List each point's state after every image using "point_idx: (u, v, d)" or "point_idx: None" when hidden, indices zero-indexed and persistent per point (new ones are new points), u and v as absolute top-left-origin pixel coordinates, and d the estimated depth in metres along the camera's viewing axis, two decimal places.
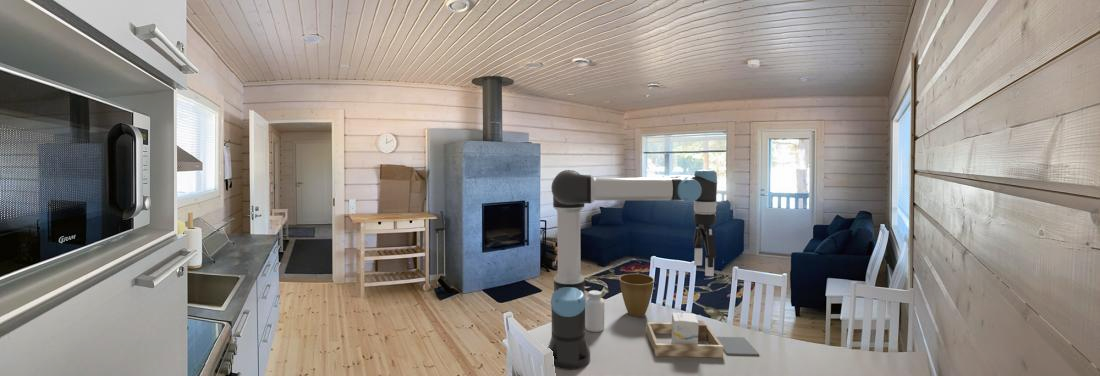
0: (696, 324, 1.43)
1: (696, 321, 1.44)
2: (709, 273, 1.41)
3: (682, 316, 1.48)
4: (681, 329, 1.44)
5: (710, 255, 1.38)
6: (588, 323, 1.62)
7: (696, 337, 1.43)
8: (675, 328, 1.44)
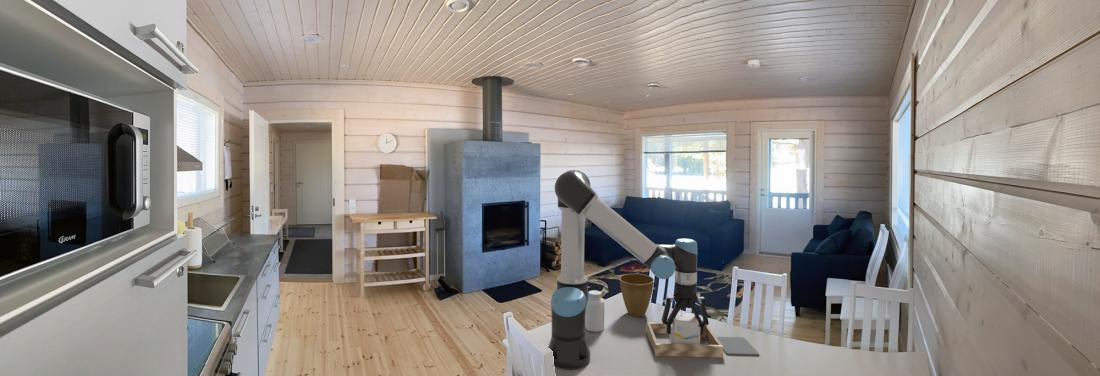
0: (696, 324, 1.43)
1: (696, 321, 1.44)
2: (670, 339, 1.48)
3: (682, 316, 1.48)
4: (681, 329, 1.44)
5: None
6: (588, 323, 1.62)
7: (696, 337, 1.43)
8: (675, 328, 1.44)
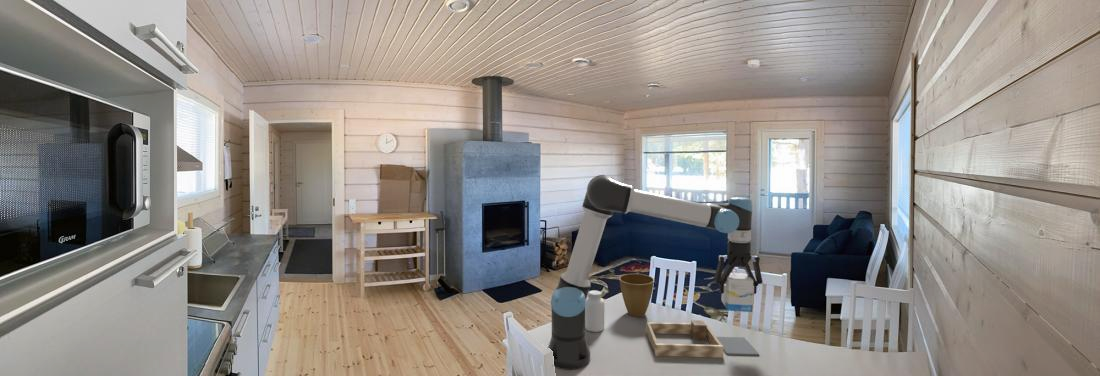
0: (751, 282, 1.42)
1: (750, 279, 1.43)
2: (722, 299, 1.48)
3: (735, 275, 1.47)
4: (735, 287, 1.43)
5: (714, 279, 1.48)
6: (588, 323, 1.62)
7: (751, 295, 1.42)
8: (729, 286, 1.44)
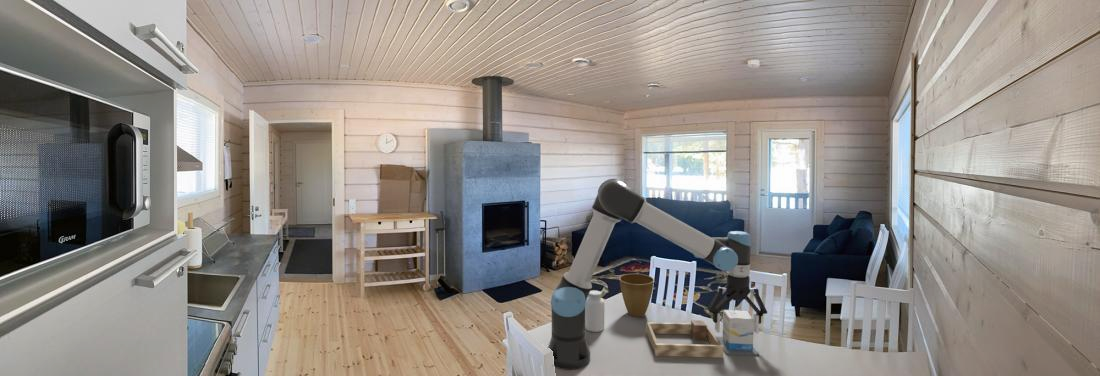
0: (751, 321, 1.43)
1: (751, 318, 1.44)
2: (716, 328, 1.49)
3: (735, 313, 1.48)
4: (736, 326, 1.44)
5: (708, 308, 1.49)
6: (588, 323, 1.62)
7: (751, 334, 1.44)
8: (730, 325, 1.44)
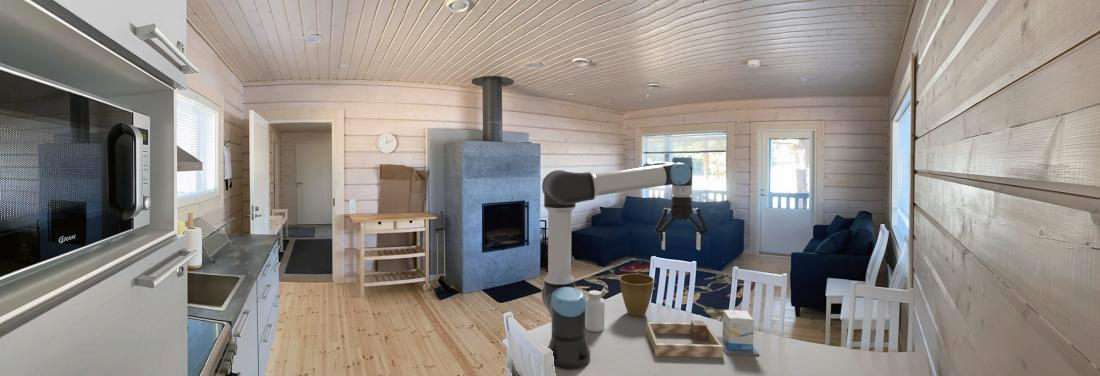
0: (751, 321, 1.43)
1: (751, 318, 1.44)
2: (662, 246, 1.62)
3: (735, 313, 1.48)
4: (736, 326, 1.44)
5: None
6: (588, 323, 1.62)
7: (751, 334, 1.44)
8: (730, 325, 1.44)
